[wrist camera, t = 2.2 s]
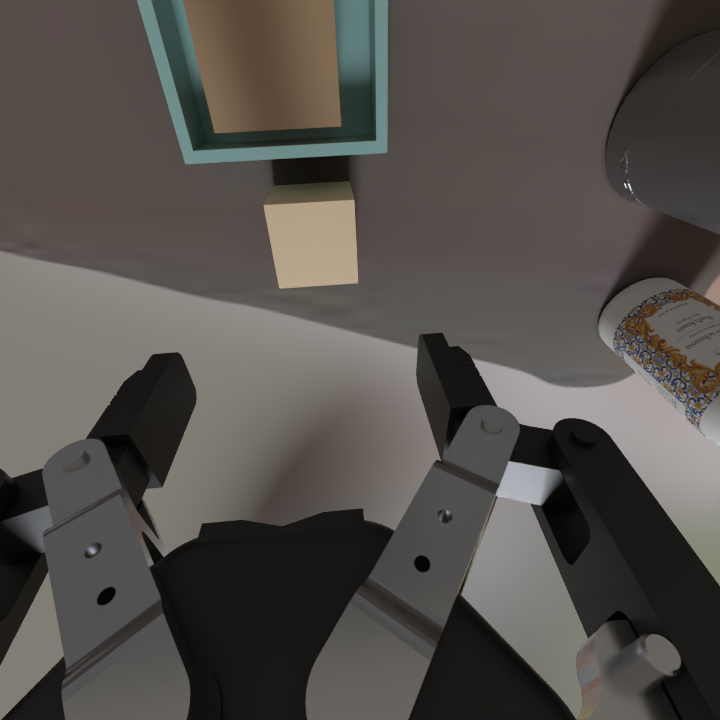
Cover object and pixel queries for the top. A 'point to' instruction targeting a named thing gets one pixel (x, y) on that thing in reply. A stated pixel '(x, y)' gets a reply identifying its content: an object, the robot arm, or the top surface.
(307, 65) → the block
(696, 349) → the bath foam
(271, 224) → the light box
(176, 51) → the tote
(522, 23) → the top surface
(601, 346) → the top surface
